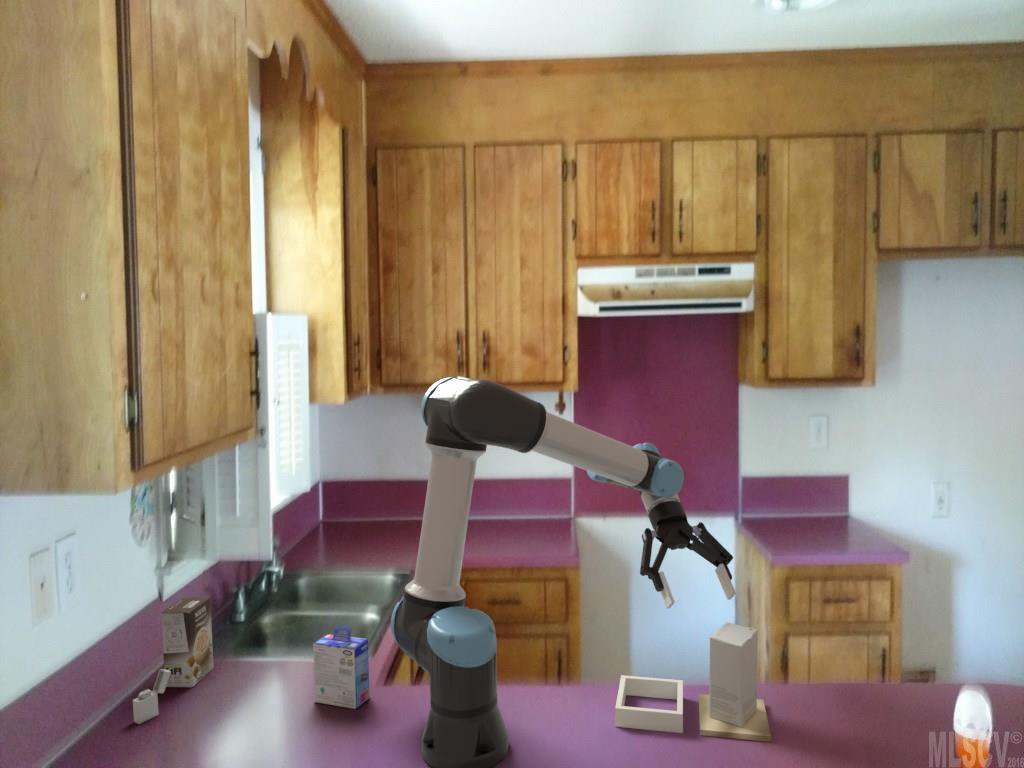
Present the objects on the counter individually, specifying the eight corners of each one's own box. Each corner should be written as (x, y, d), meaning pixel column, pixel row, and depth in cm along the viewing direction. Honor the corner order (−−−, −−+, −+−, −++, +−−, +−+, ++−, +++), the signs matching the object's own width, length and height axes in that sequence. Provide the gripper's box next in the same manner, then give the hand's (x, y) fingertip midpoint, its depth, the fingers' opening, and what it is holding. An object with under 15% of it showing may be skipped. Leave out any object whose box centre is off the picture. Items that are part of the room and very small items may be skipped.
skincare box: (726, 699, 142) (725, 620, 141) (760, 709, 138) (760, 628, 137) (707, 718, 136) (707, 635, 135) (742, 729, 132) (742, 644, 131)
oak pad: (700, 734, 132) (700, 729, 132) (698, 698, 145) (698, 693, 145) (771, 741, 130) (771, 736, 129) (763, 704, 142) (763, 699, 142)
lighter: (138, 724, 140) (136, 683, 140) (133, 721, 141) (130, 681, 141) (173, 707, 146) (170, 668, 146) (167, 705, 147) (165, 666, 147)
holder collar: (615, 726, 136) (615, 708, 135) (621, 692, 148) (621, 675, 148) (682, 733, 133) (682, 714, 133) (682, 697, 146) (682, 680, 145)
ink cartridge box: (371, 697, 149) (369, 626, 148) (357, 710, 144) (354, 638, 143) (329, 690, 152) (326, 621, 151) (313, 703, 147) (310, 632, 146)
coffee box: (193, 688, 154) (189, 612, 153) (164, 687, 155) (159, 612, 154) (214, 667, 164) (210, 596, 162) (186, 667, 164) (182, 596, 163)
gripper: (708, 512, 165) (748, 601, 152) (605, 523, 158) (638, 617, 145) (721, 493, 160) (764, 584, 147) (615, 504, 153) (650, 600, 140)
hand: (701, 601), depth 146 cm, fingers open, 13 cm apart
